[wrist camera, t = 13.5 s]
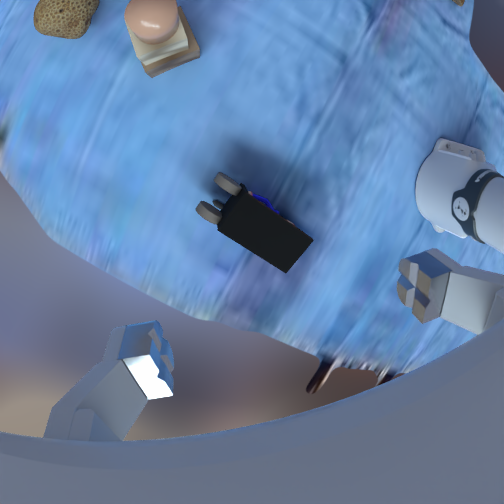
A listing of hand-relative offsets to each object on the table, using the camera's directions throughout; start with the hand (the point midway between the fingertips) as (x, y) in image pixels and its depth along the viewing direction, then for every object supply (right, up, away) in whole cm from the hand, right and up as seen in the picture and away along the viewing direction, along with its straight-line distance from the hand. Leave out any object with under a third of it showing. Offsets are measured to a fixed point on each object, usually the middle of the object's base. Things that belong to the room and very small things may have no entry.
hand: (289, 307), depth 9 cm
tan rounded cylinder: (-11, +25, +13) cm, 30 cm away
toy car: (-2, +8, +35) cm, 36 cm away
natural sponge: (-26, +35, +17) cm, 47 cm away
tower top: (-12, +27, +18) cm, 35 cm away
